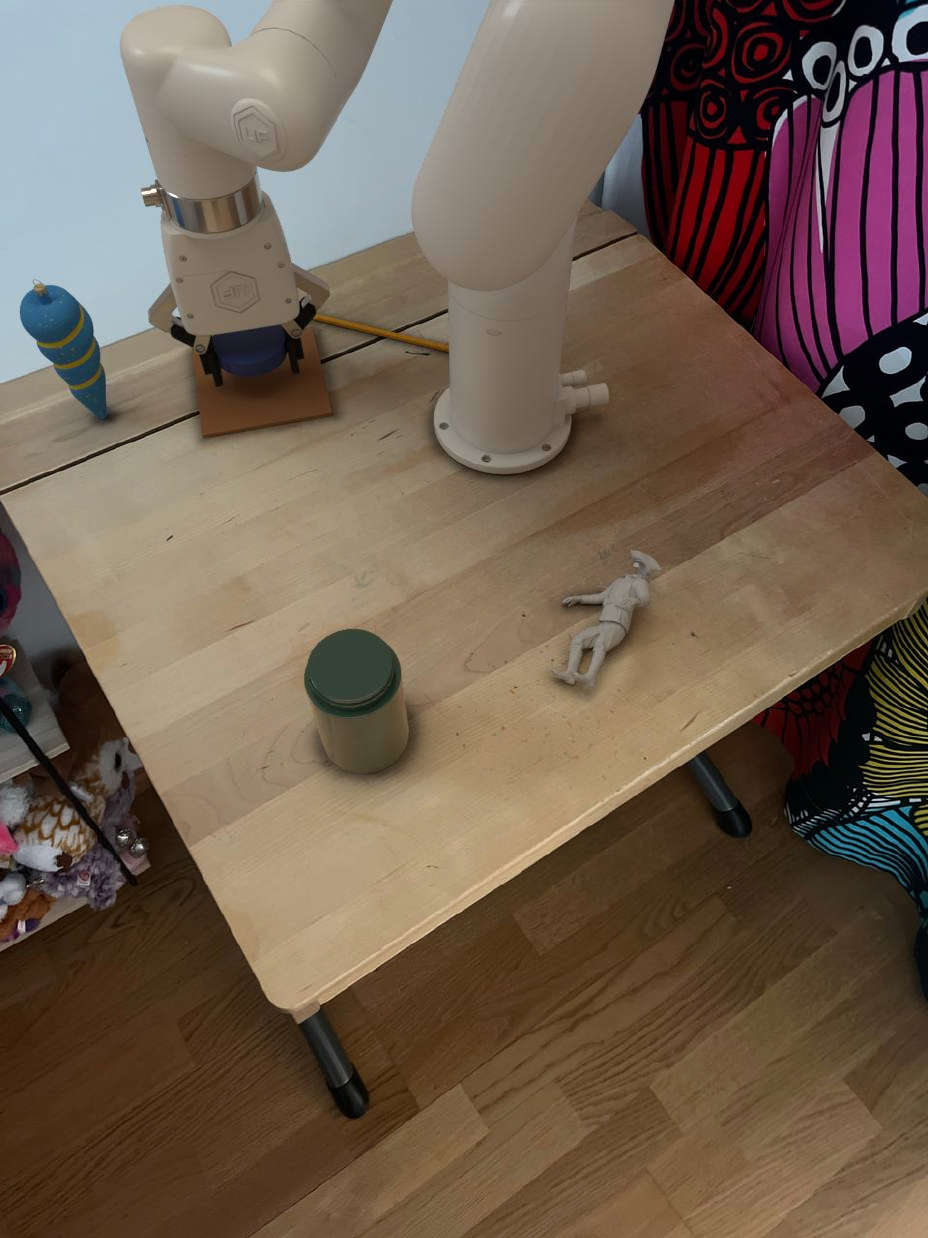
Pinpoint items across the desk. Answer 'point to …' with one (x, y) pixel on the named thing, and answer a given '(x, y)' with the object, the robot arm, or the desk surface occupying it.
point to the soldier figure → (609, 618)
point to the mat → (263, 395)
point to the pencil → (382, 332)
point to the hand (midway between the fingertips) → (256, 368)
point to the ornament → (67, 342)
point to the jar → (357, 700)
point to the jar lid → (251, 350)
